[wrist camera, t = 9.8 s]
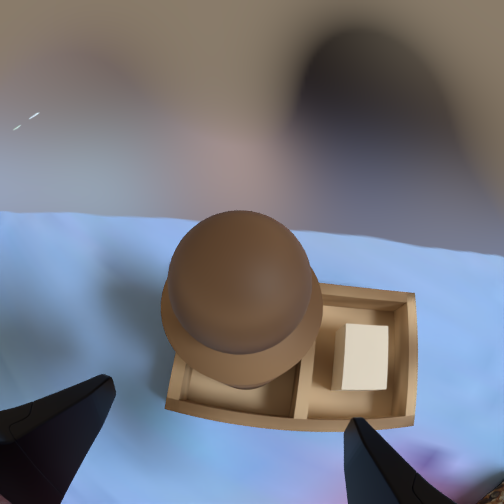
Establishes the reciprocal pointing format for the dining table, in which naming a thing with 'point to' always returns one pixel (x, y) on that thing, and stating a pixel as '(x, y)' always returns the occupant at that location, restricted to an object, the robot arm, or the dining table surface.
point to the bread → (494, 496)
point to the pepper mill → (241, 299)
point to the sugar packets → (360, 358)
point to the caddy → (318, 375)
